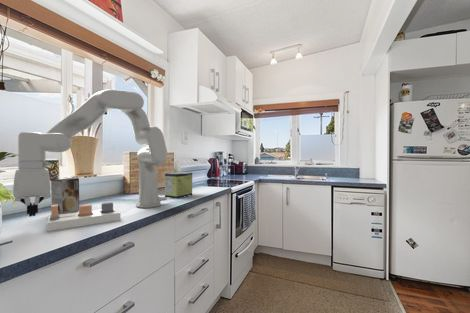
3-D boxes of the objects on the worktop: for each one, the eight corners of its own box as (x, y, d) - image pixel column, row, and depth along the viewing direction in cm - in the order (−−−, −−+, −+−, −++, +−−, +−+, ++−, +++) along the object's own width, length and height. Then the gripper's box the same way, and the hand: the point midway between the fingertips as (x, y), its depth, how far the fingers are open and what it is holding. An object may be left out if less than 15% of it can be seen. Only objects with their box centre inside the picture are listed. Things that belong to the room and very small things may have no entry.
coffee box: (69, 210, 115) (68, 177, 115) (79, 210, 114) (79, 178, 114) (50, 214, 106) (50, 179, 106) (62, 215, 105) (62, 180, 105)
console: (114, 214, 108) (114, 207, 108) (120, 219, 98) (120, 212, 98) (48, 223, 93) (48, 215, 93) (47, 231, 84) (47, 222, 84)
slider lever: (59, 216, 92) (59, 204, 92) (59, 218, 89) (59, 205, 89) (49, 217, 90) (49, 205, 90) (49, 219, 87) (49, 206, 87)
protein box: (192, 195, 159) (192, 172, 158) (176, 198, 145) (176, 174, 145) (181, 193, 164) (181, 171, 164) (164, 197, 150) (164, 173, 150)
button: (112, 212, 104) (112, 201, 103) (114, 214, 100) (113, 203, 100) (100, 213, 101) (100, 203, 101) (102, 215, 97) (102, 204, 97)
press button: (91, 214, 99) (91, 204, 99) (92, 217, 95) (92, 206, 95) (78, 216, 96) (78, 205, 96) (79, 218, 93) (79, 207, 92)
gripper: (57, 164, 93) (58, 210, 93) (5, 165, 84) (6, 216, 84) (57, 165, 87) (58, 214, 87) (1, 166, 78) (2, 221, 78)
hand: (32, 215), depth 86 cm, fingers closed
